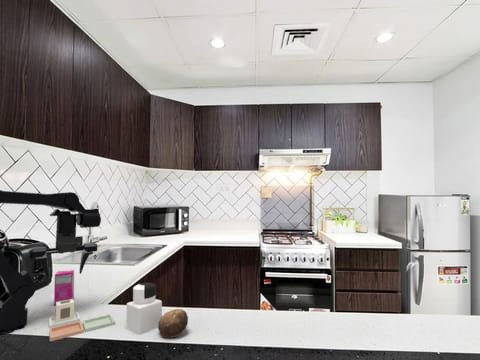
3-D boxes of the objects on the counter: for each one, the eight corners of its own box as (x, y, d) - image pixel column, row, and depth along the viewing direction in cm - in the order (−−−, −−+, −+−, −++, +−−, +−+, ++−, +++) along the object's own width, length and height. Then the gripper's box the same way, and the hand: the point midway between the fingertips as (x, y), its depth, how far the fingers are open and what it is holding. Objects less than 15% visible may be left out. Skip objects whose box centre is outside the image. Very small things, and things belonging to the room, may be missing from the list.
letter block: (55, 325, 78) (56, 305, 79) (55, 320, 82) (56, 301, 83) (73, 321, 81) (74, 302, 81) (72, 316, 85) (73, 298, 85)
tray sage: (85, 333, 73) (85, 329, 73) (82, 324, 79) (82, 320, 79) (115, 325, 77) (115, 321, 77) (110, 318, 83) (110, 314, 83)
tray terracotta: (49, 343, 68) (49, 338, 68) (49, 332, 74) (49, 328, 74) (83, 334, 73) (83, 329, 73) (80, 325, 79) (80, 320, 79)
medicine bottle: (148, 320, 80) (148, 279, 82) (162, 326, 76) (162, 283, 77) (125, 329, 75) (126, 285, 76) (139, 336, 70) (139, 289, 72)
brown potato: (182, 311, 78) (176, 298, 75) (197, 329, 72) (191, 315, 69) (158, 331, 74) (150, 318, 71) (171, 352, 68) (164, 338, 65)
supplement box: (56, 301, 102) (57, 271, 103) (74, 299, 104) (75, 269, 105) (53, 306, 96) (54, 273, 98) (72, 303, 99) (73, 271, 100)
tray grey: (49, 330, 76) (49, 325, 76) (49, 321, 82) (49, 317, 82) (80, 322, 81) (80, 318, 81) (77, 315, 87) (77, 311, 87)
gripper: (30, 232, 79) (27, 286, 77) (100, 227, 90) (99, 275, 88) (32, 230, 88) (29, 279, 86) (95, 227, 99) (94, 269, 97)
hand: (64, 275), depth 89 cm, fingers open, 9 cm apart
